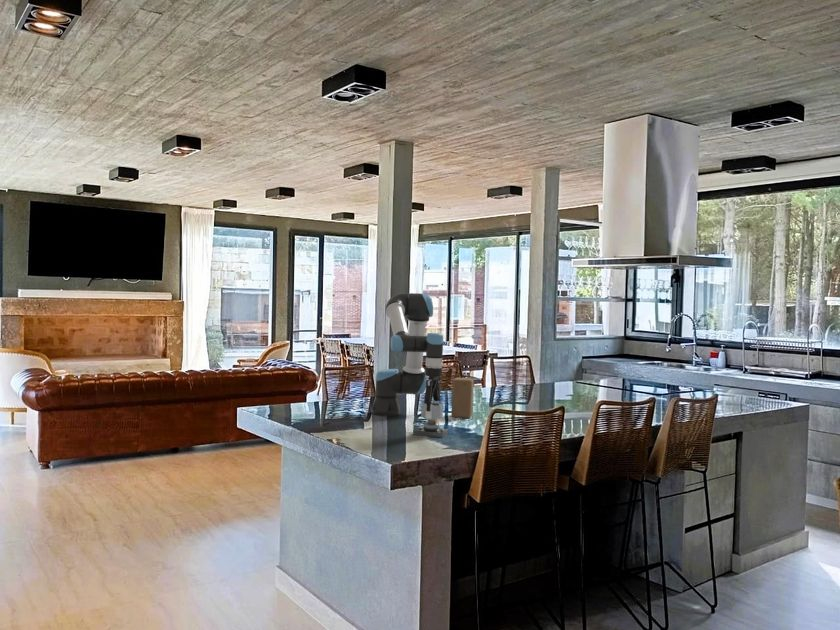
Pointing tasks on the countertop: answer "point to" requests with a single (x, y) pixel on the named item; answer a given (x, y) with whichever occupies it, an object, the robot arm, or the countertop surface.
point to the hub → (433, 411)
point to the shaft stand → (431, 429)
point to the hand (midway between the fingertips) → (431, 416)
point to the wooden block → (462, 397)
